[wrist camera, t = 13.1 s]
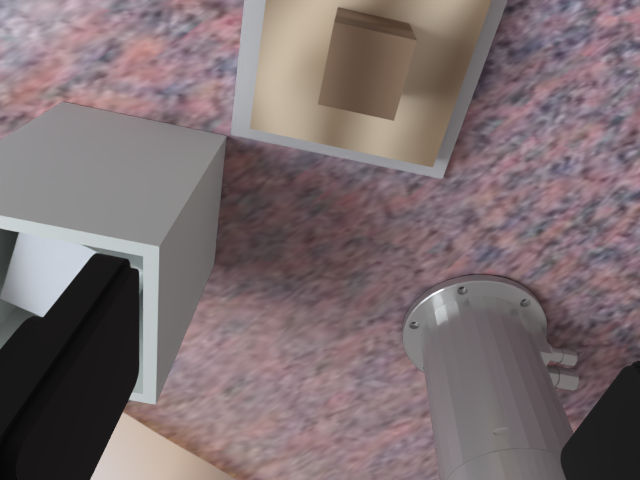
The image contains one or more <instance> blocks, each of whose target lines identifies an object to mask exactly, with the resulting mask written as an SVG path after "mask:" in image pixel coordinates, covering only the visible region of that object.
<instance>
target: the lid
mask: <svg viewBox="0 0 640 480" xmlns="http://www.w3.org/2000/svg"><path fill="white" fill-rule="evenodd" d="M491 1H492V0H266V3H265V11H264V19H263V27H262V35H261V43H260V51H259V59H258V67H257V75H256V83H255V91H254V99H253V106H252V114H251V122H250V129H254V130H258V131H263V132H268V133H272V134H277V135H282V136H287V137H291V138H296V139H301V140H305V141H310V142H315V143H320V144H324V145H329V146H334V147H338V148H343V149H348V150H353V151H357V152H362V153H367V154H371V155H376V156H381V157H386V158H390V159H395V160H400V161H404V162H409V163H414V164H418V165H423V166H428V167H433V166H434V163H435V160H436V157H437V154H438V152H439V149H440V146H441V143H442V140H443V137H444V134H445V132H446V129H447V126H448V123H449V120H450V117H451V114H452V112H453V109H454V106H455V103H456V100H457V97H458V95H459V92H460V89H461V86H462V83H463V80H464V77H465V75H466V72H467V69H468V66H469V63H470V60H471V58H472V55H473V52H474V49H475V46H476V43H477V40H478V38H479V35H480V32H481V29H482V26H483V23H484V21H485V18H486V15H487V12H488V9H489V6H490V3H491Z"/></svg>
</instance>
